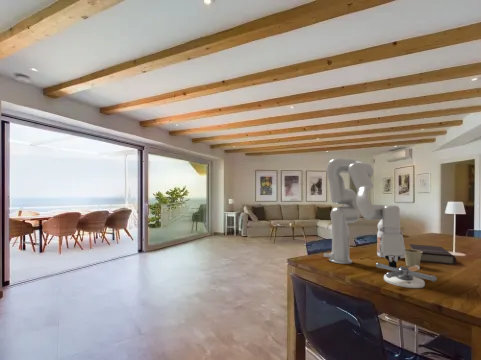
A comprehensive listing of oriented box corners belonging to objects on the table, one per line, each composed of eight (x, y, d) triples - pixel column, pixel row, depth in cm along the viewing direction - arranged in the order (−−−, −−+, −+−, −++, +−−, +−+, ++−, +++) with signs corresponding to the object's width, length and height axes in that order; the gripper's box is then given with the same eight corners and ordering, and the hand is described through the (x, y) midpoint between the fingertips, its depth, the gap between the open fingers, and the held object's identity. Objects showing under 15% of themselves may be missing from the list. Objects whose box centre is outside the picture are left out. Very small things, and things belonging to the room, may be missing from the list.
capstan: (420, 292, 110) (420, 279, 110) (359, 274, 132) (359, 264, 132) (450, 281, 124) (450, 270, 125) (390, 267, 146) (390, 257, 147)
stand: (389, 286, 122) (389, 281, 122) (379, 275, 138) (379, 271, 138) (431, 289, 119) (431, 285, 119) (416, 278, 134) (416, 274, 134)
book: (456, 265, 161) (456, 255, 161) (416, 261, 169) (416, 251, 169) (443, 255, 187) (443, 246, 187) (409, 252, 195) (409, 244, 195)
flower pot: (425, 269, 151) (425, 253, 151) (406, 268, 153) (406, 251, 153) (418, 264, 160) (418, 249, 160) (400, 263, 162) (400, 248, 162)
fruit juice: (383, 254, 186) (383, 211, 187) (397, 257, 178) (396, 212, 179) (373, 255, 181) (374, 211, 182) (387, 258, 173) (387, 213, 174)
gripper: (377, 231, 134) (378, 271, 133) (411, 232, 131) (413, 272, 130) (372, 230, 142) (373, 267, 140) (405, 230, 139) (406, 268, 138)
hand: (392, 269), depth 135 cm, fingers closed
